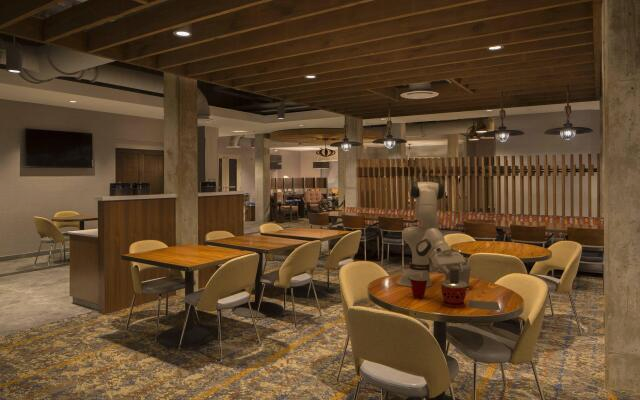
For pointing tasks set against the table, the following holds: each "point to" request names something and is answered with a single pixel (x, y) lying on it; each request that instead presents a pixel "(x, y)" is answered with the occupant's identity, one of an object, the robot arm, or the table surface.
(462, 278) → the jar
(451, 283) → the lid
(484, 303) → the mat
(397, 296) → the table surface
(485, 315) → the table surface
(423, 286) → the plastic cup
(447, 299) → the plant pot
